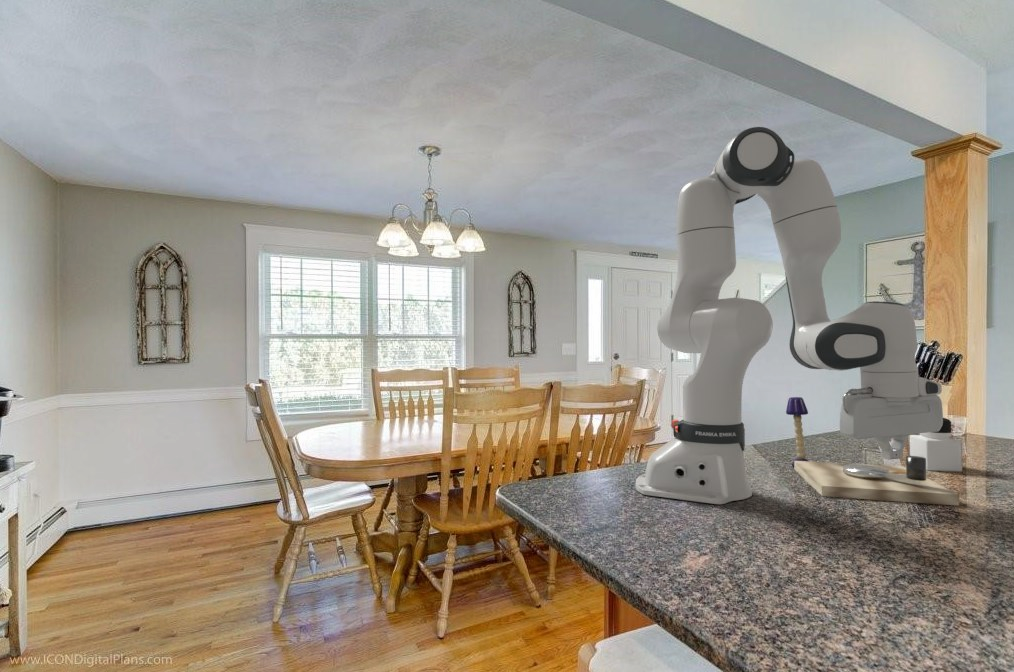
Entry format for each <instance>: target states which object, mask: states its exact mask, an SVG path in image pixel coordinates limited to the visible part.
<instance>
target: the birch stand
mask: <svg viewBox="0 0 1014 672" xmlns="http://www.w3.org/2000/svg"><path fill="white" fill-rule="evenodd" d="M793 461H794V460H793ZM809 461H810V460H808V461H794V467H793V468H794V469H793V470H795V472H796V473H798V474H799V475H800V476H801V477H802V478H803V480H805V481H806V482H807V483H808V484H809V485H810V486H811V487H812V488H813V489H814V490H815V491H816V492H817V493H819V495H820V496H821V497H830V498H831V497H833V498H846V499H847V498H848V499H861V500H874V501H886V502H887V501H888V502H902V503H903V502H904V503H916V504H917V503H918V504H929V505H930V504H931V505H945V506H946V505H947V506H959V507H960V494H958V493H957V492H955V491H952V490H951V489H949V488H947V487H945V486H943V485H942V484H941V485H940V483H937V482H935V481H933V480H931V479H929V478H927V477H926V480H925V481H918V484H911V483H906V482H901V481H896V480H891V479H886V478H883V479H875V478H864V477H857V476H853V475H849V474H846V473H844V472H843V466H844V465H848V464H849V463H847V462H846V463H844V462H829V461H828V462H826V461H825V462H824V461H810V462H809ZM859 464H860V465H867V464H866V463H865V464H863V463H859ZM869 465H870V466H876V467H881V468H884V469H887V470H889V471H890V473H894V474H899V475H904V476H906V466H904V465H882V464H881V465H880V464H869Z"/></svg>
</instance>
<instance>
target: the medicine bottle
mask: <svg viewBox="0 0 1014 672" xmlns="http://www.w3.org/2000/svg"><path fill="white" fill-rule="evenodd" d="M951 437H952V420H950V419H948V418H946V417H943V425H942V427H941V429H940V430H939V431H938V432H928V433H918V434H909V456H919V457H924V458H926V471H928V472H930V471H931V472H958V473H959V472H960V473H962V472H963V455H962V454H963V451H962V450H963V445H962V444H963V443H962V441H961V440H958V439H955V438H951Z"/></svg>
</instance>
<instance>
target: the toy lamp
mask: <svg viewBox="0 0 1014 672" xmlns="http://www.w3.org/2000/svg"><path fill="white" fill-rule="evenodd" d="M785 411H786V412H785V413H786V415H789V416H790V415H791V416H793V420H794V422H793V425H794V433H795V435H794V438H795V444H796V445H795V446H796V451H797V453H796V456H797V458H795V459H793V461H792V463H791V467H793V468H794V461H809V462H811V461H810V460H808V459H807V458H806V454H805V450H806V449H805V446H804V445H805V441H804V434H803V432H804V431H803V430H804V429H803V427H802V426H803V422H802V416H806V415H808V414H809V411H808V408H807V406H806V403H805V400H804V398H803V397H801V396H794V397H793V396H792V397H788V399H787V404H786V410H785Z"/></svg>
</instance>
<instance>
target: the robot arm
mask: <svg viewBox="0 0 1014 672" xmlns="http://www.w3.org/2000/svg"><path fill="white" fill-rule="evenodd" d="M756 195H757V196H758V197H760V198H761V199H762V200H763V201H764V202H765V203H766V205H767V207H768V209H769V211H770V216H771V221H772V225H773V230H774V233H775V238H776V240H777V244H778V248H779V251H780V252H779V253H780V256H781V259H782V260H781V261H782V265H783V268H784V273H785V275H784V276H785V282H786V288H787V291H788V292H787V293H788V299H789V304H790V310H791V316H792V329H791V334H790V338H789V351H790V353H791V355H792V358H794V360H795V362H797V363H798V364H800V365H801V366H802V367H804V368H808V369H810V370H829V371H841V372H842V371H849V370H852V369H858V368H859V369H860V370H859V371H860V372H859V373H860V374H859V375H860V388H851V389H848V391H847V392H845V394H844V395H843V396H842V399H841V401H842V402H841V406H840V413H839V432H840V434H841V435H842V437H845V438H849V439H854V440H865V439H874V438H875V442H876V443H877V445H878V446H879V448H880V451H881V458H882V459H884V460H888V461H889V460H896V459H897V460H899V459H903V457H904V455H903V453H904V452H903V450H904V448H905V446H906V444H907V442H908V441H909V438H908V435H919V433H928V432H938V431H939V430H940V429H941V427H942V425H943V418H944V414H943V413H944V412H943V402H942V399H941V397H940V396H939V395H941V394H942V389H943V387H942V384H941V383H939V382H938V381H933V380H930V379H928V378H925V377H921V376H919V368H918V365H917V363H916V354H917V353H916V352H917V349H918V340H917V339H918V338H917V330H916V328H917V327H916V323H915V317H914V315H913V312H912V309H910V308H909V306H907V305H905V304H904V303H903V304H902V303H898V302H892V301H876V300H875V301H867V302H864V303H862V304H861V305H860V306H859V307H858V308H856V309H855V310H853V311H851V312H849V313H847V314H845V315H843V316H840V317H838V318H835V319H833V320H831V319H830V317H829V316H828V312H827V311H828V310H827V306H826V301H825V300H826V299H825V294H824V289H823V280H822V279H823V272H824V269H825V267H826V265H827V263H828V261H829V259H830V258H831V257H832V256H833V254H834V253H835V252H836V250H837V249H838V247H839V245H840V242H841V239H842V236H841V235H842V234H841V233H842V228H841V227H842V225H841V218H840V213H839V210H838V207H837V202H836V201H837V200H836V199H835V195H834V192H833V189H832V187H831V184H830V182H829V179H828V177H827V175H826V174H825V171H824V170H823V168H822V166H821V165H820V164H819V163H818V162H817V161H815V160H813V159H809V158H800V159H799V158H798V159H795V153H794V151H793V150H792V149H790V147H788V146H787V145H786V144H785V142H784V141H783V139H782V137H781V136H779V134H777V133H776V132H775V131H774V130H772V129H770V128H767V127H763V126H754V127H750V128H747V129H744V130H741V131H740V132H739V133H738V134H735V136H733V137H732V138H731V139H730V140H729V141H728V143H727V144H726V147H724V149H723V150H722V152H721V153H720V154H719V156H718V158H717V160H716V163H715V165H714V167H713V169H712V171H711V173H710V174H709V175H708V176H706V177H699V178H696V179H694V180H692V181H689V182H688V183H686V184H685V185H684V186H683V187H682V188H681V189H680V192H679V196H678V201H677V208H676V226H675V227H676V247H677V248H676V249H677V250H676V252H677V274H676V280H675V281H676V283H675V285H674V290H673V293H672V296H671V300H670V302H668V306H667V307H666V309H664V311H663V312H662V313H661V314H660V316H659V318H658V321H657V326H656V327H657V328H656V330H657V335H658V338H659V340H660V342H661V343H662V344H663V345H664V347H666V348H668V349H671V350H673V351H676V352H680V353H683V354H700V355H699V356H700V357H699V361H698V364H697V367H696V369H695V370H694V372H693V373H692V374H691V375H689V376H688V377H687V378H686V379H685V380H684V382H683V385H682V403H683V404H682V405H683V406H682V408H683V409H682V412H683V416H682V417H683V419H681V420H679V419H677V418H676V419H673V420H672V421H671V422H670V427H671V428H672V431H673V432H672V433H673V435H672V436H673V438H672V439H670V440H669V441H668V442H666V443H665V444H663V445H662V446H661V447H659V448H658V449H656V450H655V451H653V452H652V453H651V455H650V456H649V457H648V460H647V463H646V467H645V473H643V474H641V475H639V476H638V477H637V478H636V480H635V484H634V485H635V490H636V491H637V492H638V493H640V494H641V495H645V496H652V497H660V498H667V499H676V500H682V501H690V502H697V503H704V504H705V503H706V504H713V505H724V504H727V503H730V502H733V501H741V500H745V499H749V498H751V497H752V495H753V491H752V490H751V486H750V482H749V478H748V474H747V469H746V464H745V457H744V451H745V447H746V430H745V424H744V423H743V421H742V401H743V400H742V396H743V395H742V394H743V384H744V379H745V375H746V372H747V369H748V368H749V365H750V363H751V362H752V359H753V358H755V357H754V356H755V355H756V354H757V353H758V352H759V351H760V350H761V349H762V348H764V347H765V346H766V345H767V343H768V342H769V340H770V339H771V336H772V334H773V326H774V325H773V324H774V322H773V319H772V318H773V317H772V315H771V312H770V311H769V309H768V308H767V307H766V305H765V304H763V302H760V301H758V300H755V299H749V298H743V297H727V298H719V297H720V291H721V289H722V287H723V284H724V283H725V281H726V280H727V279H728V278H729V277H730V276H731V275H732V274H733V273H734V272H735V269H736V266H737V257H736V256H737V255H736V237H735V223H734V209H735V205H737V204H740V203H743V202H745V201H748V200H750V199H751V198H753V197H754V196H756ZM892 439H893V440H892ZM890 442H892V443H890Z"/></svg>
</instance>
